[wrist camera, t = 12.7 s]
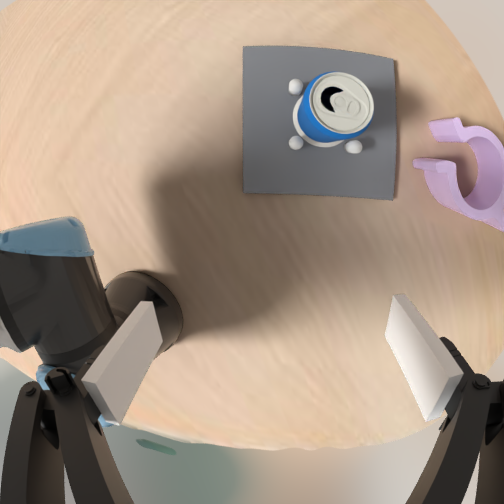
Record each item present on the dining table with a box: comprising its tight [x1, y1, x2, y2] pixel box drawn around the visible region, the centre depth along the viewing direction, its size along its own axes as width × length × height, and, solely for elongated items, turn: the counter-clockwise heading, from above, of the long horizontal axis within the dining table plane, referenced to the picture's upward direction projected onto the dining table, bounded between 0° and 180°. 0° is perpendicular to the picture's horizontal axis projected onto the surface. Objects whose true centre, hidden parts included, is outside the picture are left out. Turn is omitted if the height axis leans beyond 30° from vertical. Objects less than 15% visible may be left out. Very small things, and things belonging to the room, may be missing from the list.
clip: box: [413, 118, 504, 232], centre depth 29 cm, size 20×12×7 cm, turn 67°
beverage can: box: [297, 71, 374, 143], centre depth 26 cm, size 6×6×12 cm
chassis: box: [243, 46, 396, 201], centre depth 30 cm, size 20×20×4 cm
